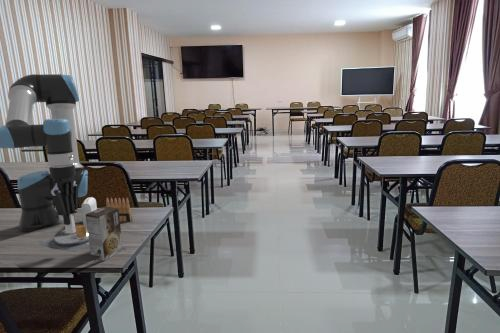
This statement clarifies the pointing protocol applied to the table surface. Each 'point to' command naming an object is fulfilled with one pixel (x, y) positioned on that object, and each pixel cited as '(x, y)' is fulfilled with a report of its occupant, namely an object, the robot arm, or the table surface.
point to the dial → (72, 236)
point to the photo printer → (88, 208)
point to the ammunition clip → (121, 208)
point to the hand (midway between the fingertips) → (70, 232)
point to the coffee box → (104, 232)
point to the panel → (71, 248)
